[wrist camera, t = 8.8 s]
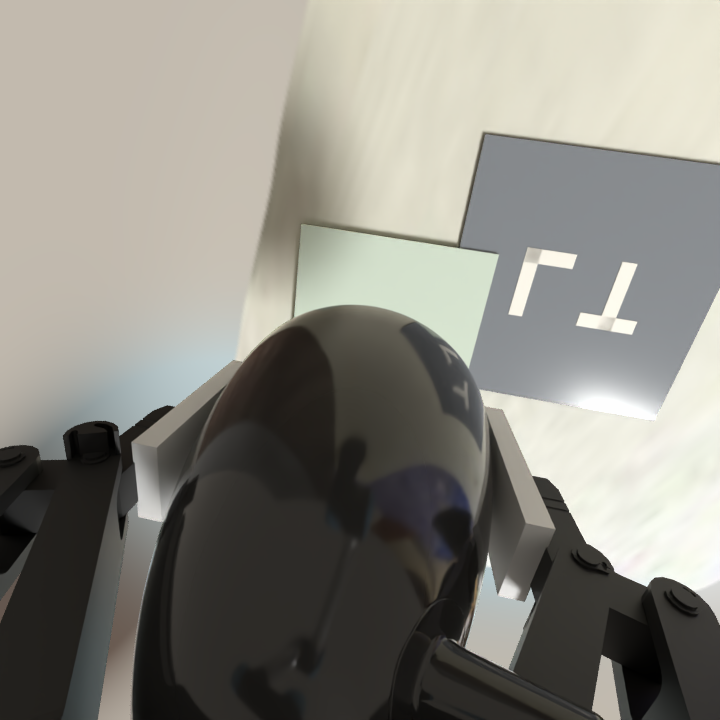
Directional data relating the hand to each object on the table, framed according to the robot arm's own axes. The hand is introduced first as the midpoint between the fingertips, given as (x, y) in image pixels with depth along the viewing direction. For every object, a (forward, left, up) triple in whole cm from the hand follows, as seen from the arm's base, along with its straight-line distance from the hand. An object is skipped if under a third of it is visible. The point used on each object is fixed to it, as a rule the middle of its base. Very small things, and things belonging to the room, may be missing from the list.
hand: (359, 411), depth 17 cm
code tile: (-5, +12, -12) cm, 18 cm away
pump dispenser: (0, 0, -3) cm, 3 cm away
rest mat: (0, 0, -12) cm, 12 cm away
